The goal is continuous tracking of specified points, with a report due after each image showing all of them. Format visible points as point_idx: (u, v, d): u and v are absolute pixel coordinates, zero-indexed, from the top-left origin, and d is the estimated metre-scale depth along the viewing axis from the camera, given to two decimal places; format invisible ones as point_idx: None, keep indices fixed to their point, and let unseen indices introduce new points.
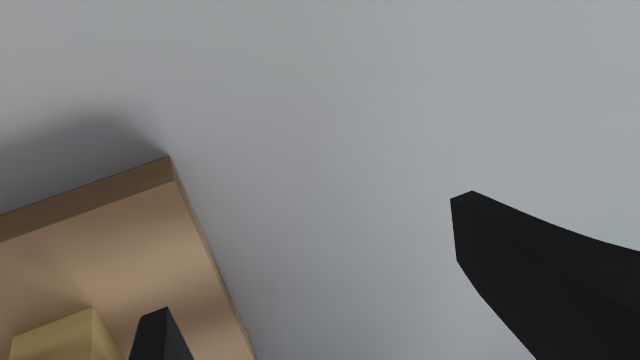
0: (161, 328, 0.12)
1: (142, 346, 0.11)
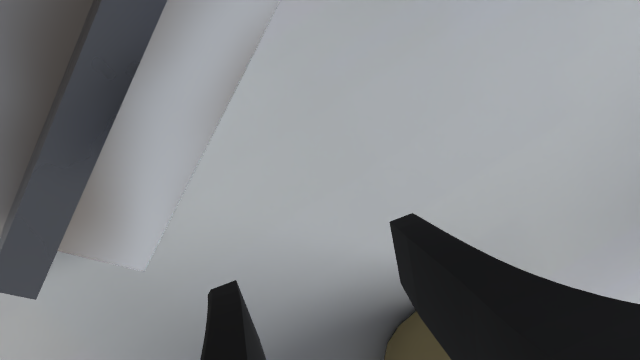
0: (235, 300, 0.12)
1: (219, 316, 0.12)
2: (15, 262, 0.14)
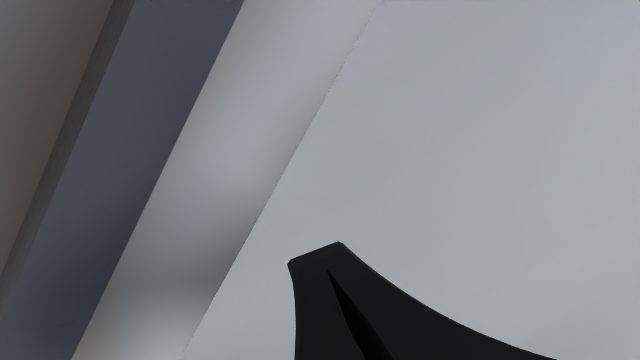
0: (319, 267, 0.12)
1: (306, 282, 0.12)
2: None
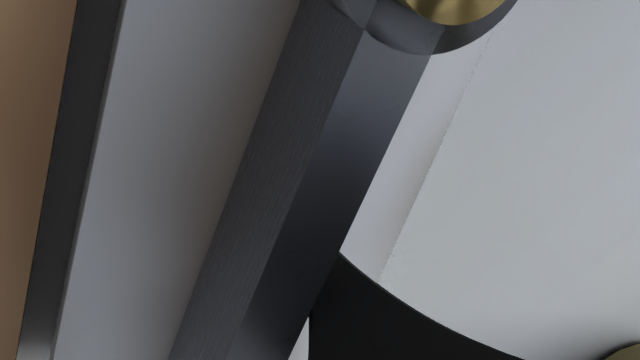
0: None
1: None
2: None
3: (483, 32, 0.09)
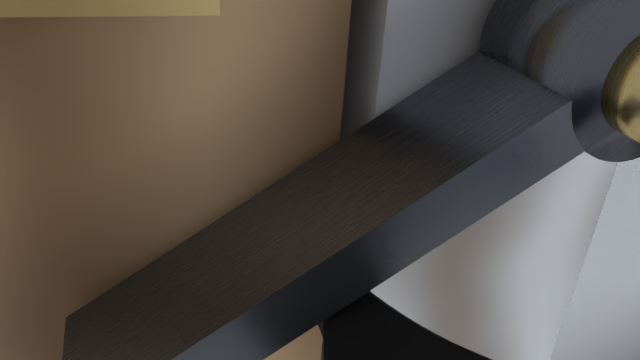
0: None
1: None
2: None
3: (617, 159, 0.11)
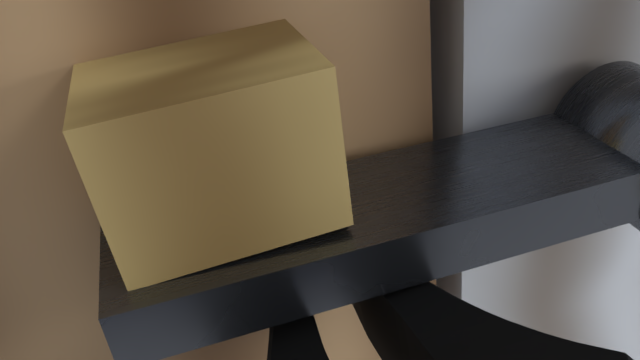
0: None
1: None
2: (167, 320, 0.09)
3: None
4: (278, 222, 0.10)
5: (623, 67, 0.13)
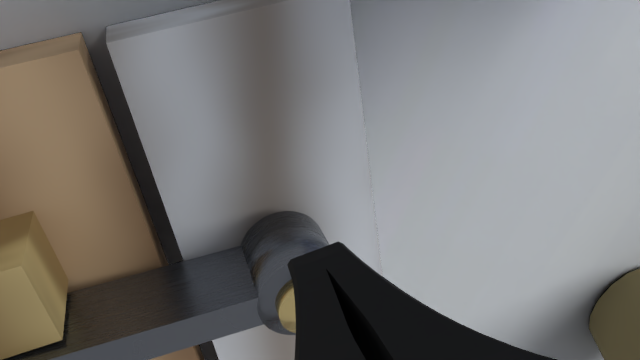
0: (319, 267, 0.12)
1: (306, 282, 0.12)
2: None
3: (283, 333, 0.20)
4: (10, 342, 0.17)
5: (277, 218, 0.20)
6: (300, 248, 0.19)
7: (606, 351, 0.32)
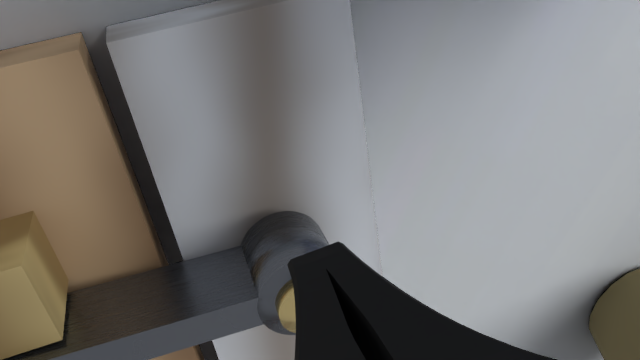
0: (319, 267, 0.12)
1: (306, 282, 0.12)
2: None
3: (283, 333, 0.20)
4: (10, 342, 0.17)
5: (277, 218, 0.20)
6: (300, 248, 0.19)
7: (606, 351, 0.32)
